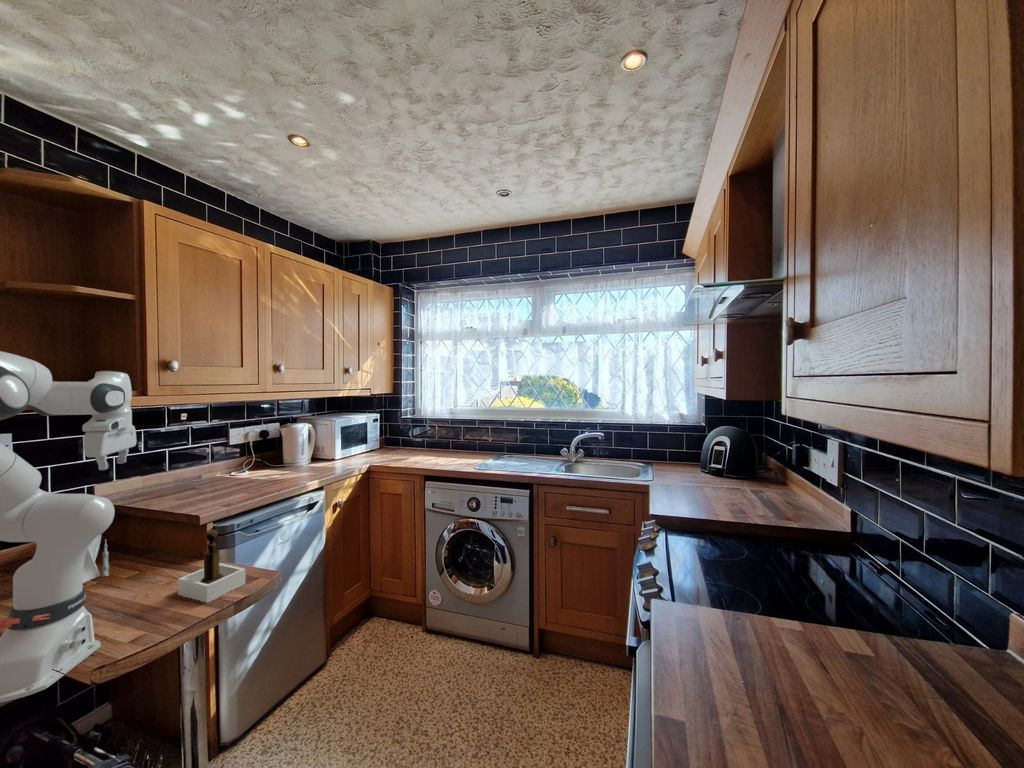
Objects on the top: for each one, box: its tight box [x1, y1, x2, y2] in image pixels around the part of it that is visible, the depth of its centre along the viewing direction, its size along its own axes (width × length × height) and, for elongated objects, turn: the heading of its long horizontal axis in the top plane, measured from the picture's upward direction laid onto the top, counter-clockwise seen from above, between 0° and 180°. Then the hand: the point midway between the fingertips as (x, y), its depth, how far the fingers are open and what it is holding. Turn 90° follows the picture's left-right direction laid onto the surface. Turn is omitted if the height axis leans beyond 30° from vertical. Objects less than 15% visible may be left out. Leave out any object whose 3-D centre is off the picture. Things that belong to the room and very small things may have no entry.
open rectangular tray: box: [177, 562, 246, 604], centre depth 129 cm, size 12×13×5 cm
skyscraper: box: [83, 534, 111, 583], centre depth 134 cm, size 8×8×28 cm
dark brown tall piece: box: [200, 529, 224, 584], centre depth 129 cm, size 7×6×18 cm
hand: (112, 466), depth 128 cm, fingers open, 8 cm apart
